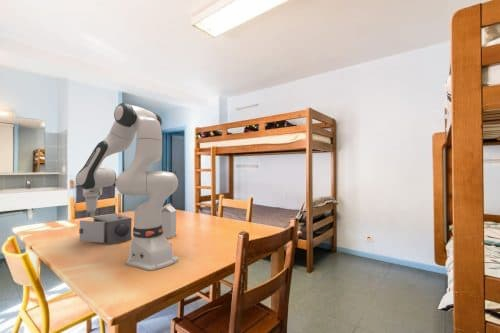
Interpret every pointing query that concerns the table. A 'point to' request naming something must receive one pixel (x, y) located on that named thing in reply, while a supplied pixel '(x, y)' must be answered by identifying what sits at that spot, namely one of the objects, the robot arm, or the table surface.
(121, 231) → the housing
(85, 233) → the door
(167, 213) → the milk carton
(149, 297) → the table surface
